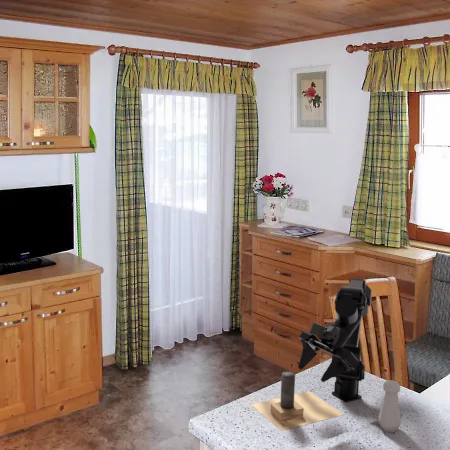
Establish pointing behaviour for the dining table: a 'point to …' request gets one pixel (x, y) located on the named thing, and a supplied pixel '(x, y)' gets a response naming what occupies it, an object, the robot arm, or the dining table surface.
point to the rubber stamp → (287, 400)
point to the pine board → (312, 411)
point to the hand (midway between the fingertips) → (310, 374)
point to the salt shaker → (390, 407)
